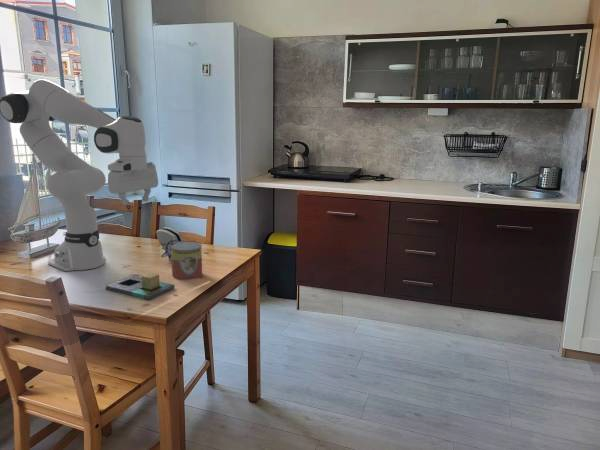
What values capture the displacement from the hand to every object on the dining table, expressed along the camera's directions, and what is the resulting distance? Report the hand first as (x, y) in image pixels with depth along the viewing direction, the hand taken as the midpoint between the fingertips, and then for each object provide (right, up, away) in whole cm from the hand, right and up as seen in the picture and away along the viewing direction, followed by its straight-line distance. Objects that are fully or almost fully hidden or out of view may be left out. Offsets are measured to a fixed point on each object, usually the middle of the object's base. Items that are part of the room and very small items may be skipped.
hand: (135, 202), depth 165 cm
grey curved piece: (-2, -18, +52) cm, 55 cm away
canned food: (+16, -28, +12) cm, 34 cm away
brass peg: (+8, -31, -6) cm, 32 cm away
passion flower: (+6, -23, +31) cm, 39 cm away
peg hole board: (+3, -31, -4) cm, 31 cm away
